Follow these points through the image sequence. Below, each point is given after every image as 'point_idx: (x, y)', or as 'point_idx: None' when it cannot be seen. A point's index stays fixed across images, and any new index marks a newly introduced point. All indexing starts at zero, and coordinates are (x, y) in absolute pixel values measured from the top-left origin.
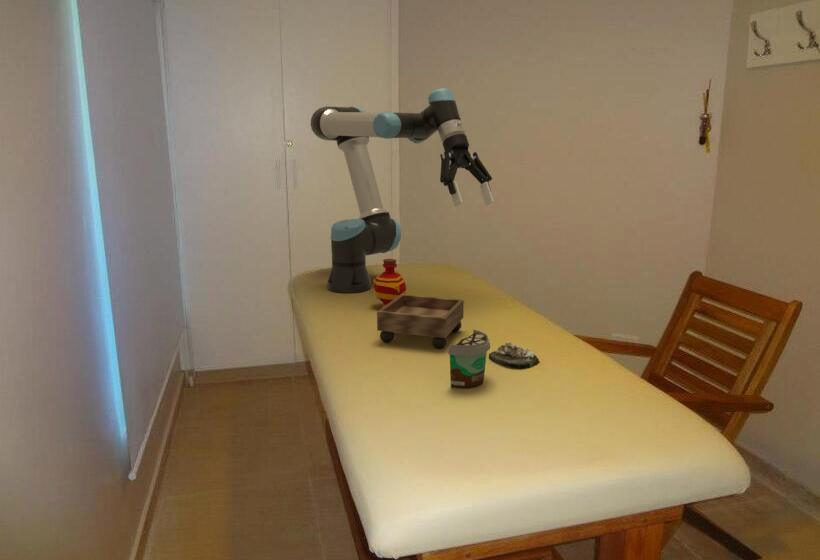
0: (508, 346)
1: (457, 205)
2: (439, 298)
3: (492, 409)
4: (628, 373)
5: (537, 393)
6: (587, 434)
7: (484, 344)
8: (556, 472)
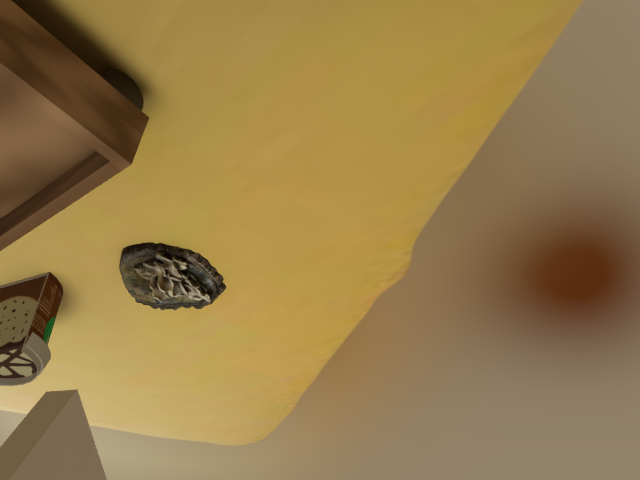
0: (154, 294)
1: (80, 406)
2: (38, 103)
3: None
4: (319, 371)
5: (128, 349)
6: (123, 405)
7: (20, 380)
8: None
